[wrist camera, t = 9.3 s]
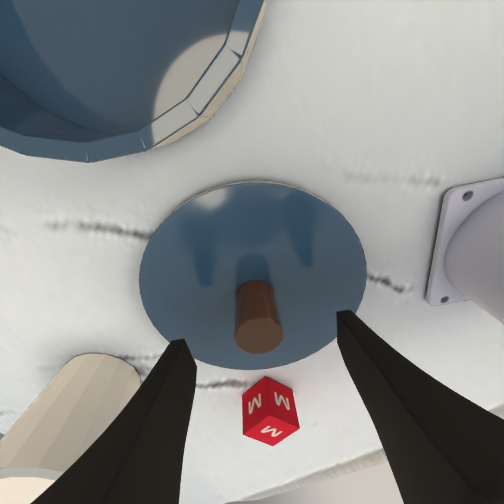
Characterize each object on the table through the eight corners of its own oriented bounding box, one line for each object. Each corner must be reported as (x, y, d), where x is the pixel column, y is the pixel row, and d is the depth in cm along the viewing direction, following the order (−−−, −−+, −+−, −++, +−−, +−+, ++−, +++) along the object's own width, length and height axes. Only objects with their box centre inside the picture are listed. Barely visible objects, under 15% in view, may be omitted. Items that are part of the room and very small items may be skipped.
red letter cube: (242, 395, 21) (242, 434, 18) (265, 376, 20) (269, 415, 17) (268, 407, 22) (273, 446, 19) (292, 389, 21) (300, 428, 18)
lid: (360, 153, 12) (415, 167, 9) (357, 340, 19) (388, 396, 15) (105, 206, 13) (50, 241, 9) (185, 370, 19) (171, 432, 15)
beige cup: (32, 367, 18) (-74, 494, 12) (108, 334, 17) (34, 455, 11) (98, 414, 21) (40, 535, 15) (166, 389, 20) (134, 508, 14)
